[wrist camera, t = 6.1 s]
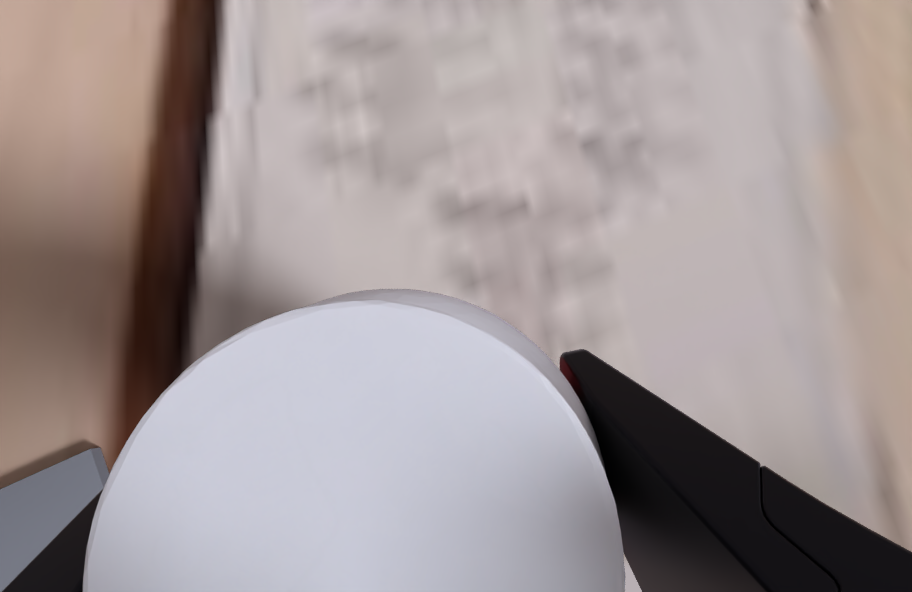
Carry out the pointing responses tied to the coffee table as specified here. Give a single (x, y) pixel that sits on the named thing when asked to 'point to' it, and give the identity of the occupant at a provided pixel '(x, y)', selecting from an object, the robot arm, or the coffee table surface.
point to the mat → (45, 508)
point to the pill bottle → (362, 463)
